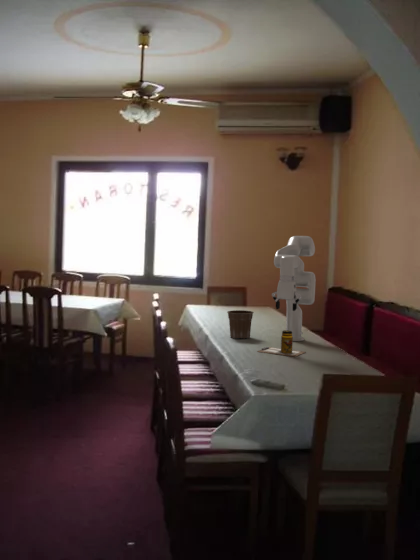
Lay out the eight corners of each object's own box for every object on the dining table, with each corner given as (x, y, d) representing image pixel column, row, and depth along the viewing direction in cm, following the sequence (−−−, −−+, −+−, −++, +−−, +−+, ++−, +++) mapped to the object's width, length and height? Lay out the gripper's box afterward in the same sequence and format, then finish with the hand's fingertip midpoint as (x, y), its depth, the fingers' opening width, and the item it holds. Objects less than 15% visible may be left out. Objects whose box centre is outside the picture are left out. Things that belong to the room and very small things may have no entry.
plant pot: (222, 338, 351) (222, 312, 350) (233, 334, 365) (234, 309, 364) (246, 340, 343) (247, 314, 342) (256, 336, 358) (257, 311, 356)
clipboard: (269, 347, 324) (269, 345, 323) (305, 352, 312) (305, 350, 312) (257, 351, 311) (257, 349, 311) (295, 357, 299) (295, 354, 299)
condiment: (289, 354, 302) (290, 332, 301) (275, 352, 306) (275, 330, 306) (294, 352, 308) (295, 330, 308) (280, 350, 313) (281, 329, 312)
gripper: (304, 279, 310) (303, 310, 312) (275, 277, 319) (274, 307, 321) (299, 280, 304) (298, 312, 306) (269, 278, 313) (268, 309, 315)
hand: (286, 309), depth 313 cm, fingers open, 9 cm apart
